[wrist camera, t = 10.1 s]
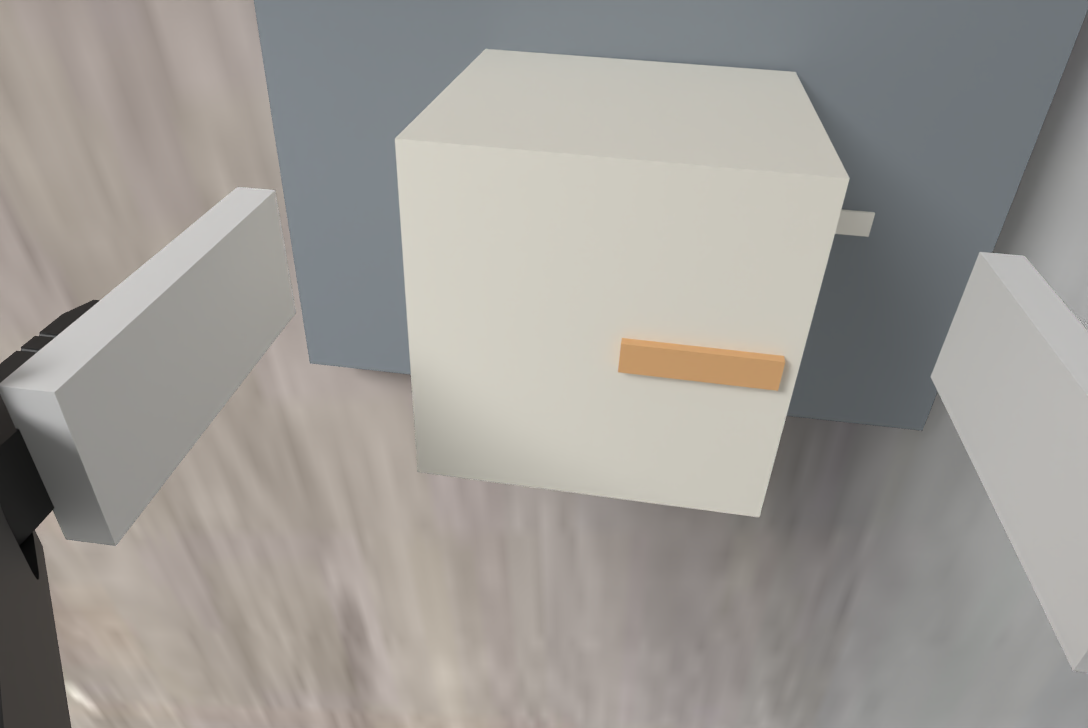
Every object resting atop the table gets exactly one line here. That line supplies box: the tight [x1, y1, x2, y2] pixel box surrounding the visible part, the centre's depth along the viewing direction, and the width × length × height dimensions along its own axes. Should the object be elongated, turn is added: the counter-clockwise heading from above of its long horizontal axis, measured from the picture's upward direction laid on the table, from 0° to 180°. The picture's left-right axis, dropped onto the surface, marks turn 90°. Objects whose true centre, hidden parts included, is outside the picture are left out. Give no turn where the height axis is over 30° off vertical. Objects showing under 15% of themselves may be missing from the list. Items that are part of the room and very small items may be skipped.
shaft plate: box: [254, 0, 1088, 431], centre depth 18 cm, size 12×18×6 cm, turn 88°
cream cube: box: [395, 49, 850, 517], centre depth 17 cm, size 7×7×7 cm
